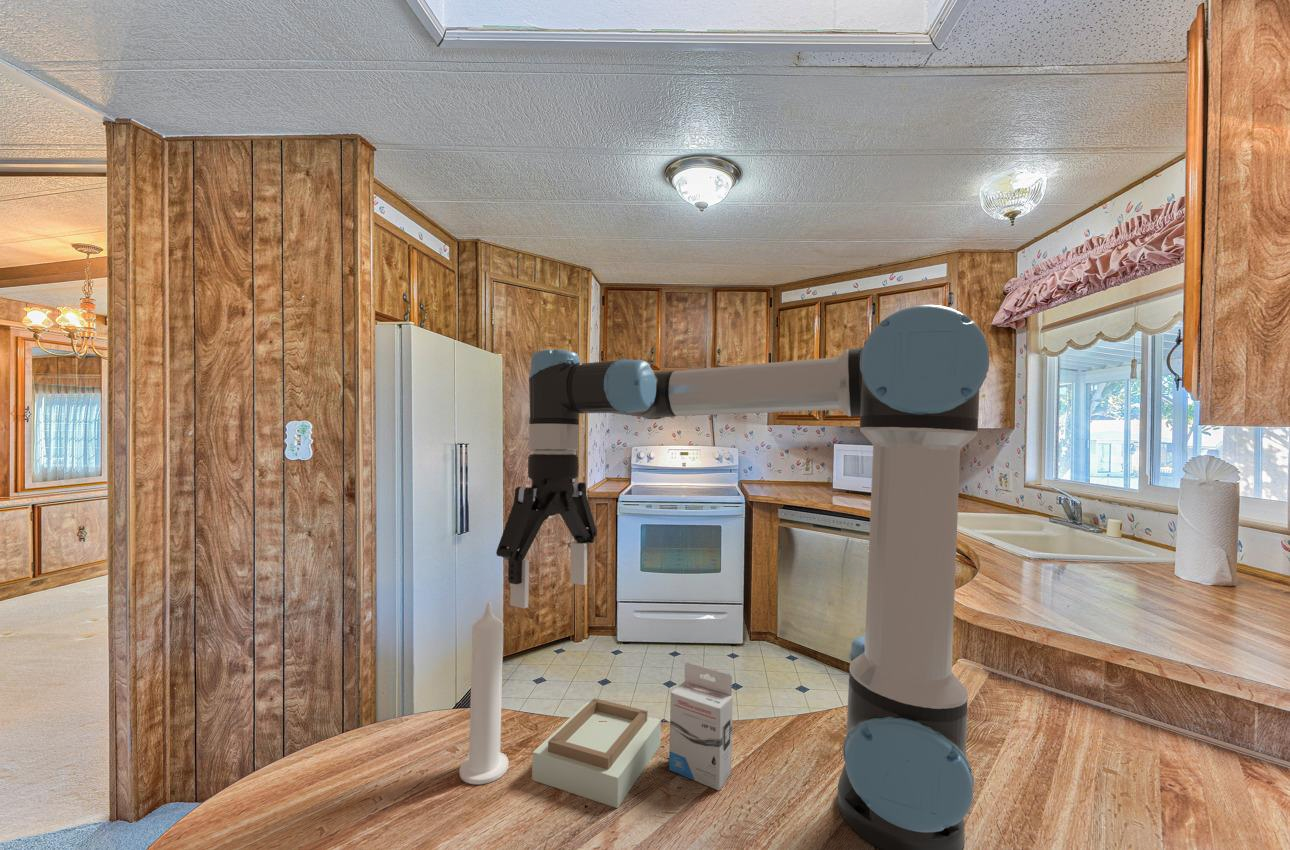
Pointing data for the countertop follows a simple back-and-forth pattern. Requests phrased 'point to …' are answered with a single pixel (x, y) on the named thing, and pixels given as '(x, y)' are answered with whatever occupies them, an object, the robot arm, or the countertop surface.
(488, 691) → the candle
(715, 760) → the ink box
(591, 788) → the display stand
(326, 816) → the countertop surface
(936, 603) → the robot arm
